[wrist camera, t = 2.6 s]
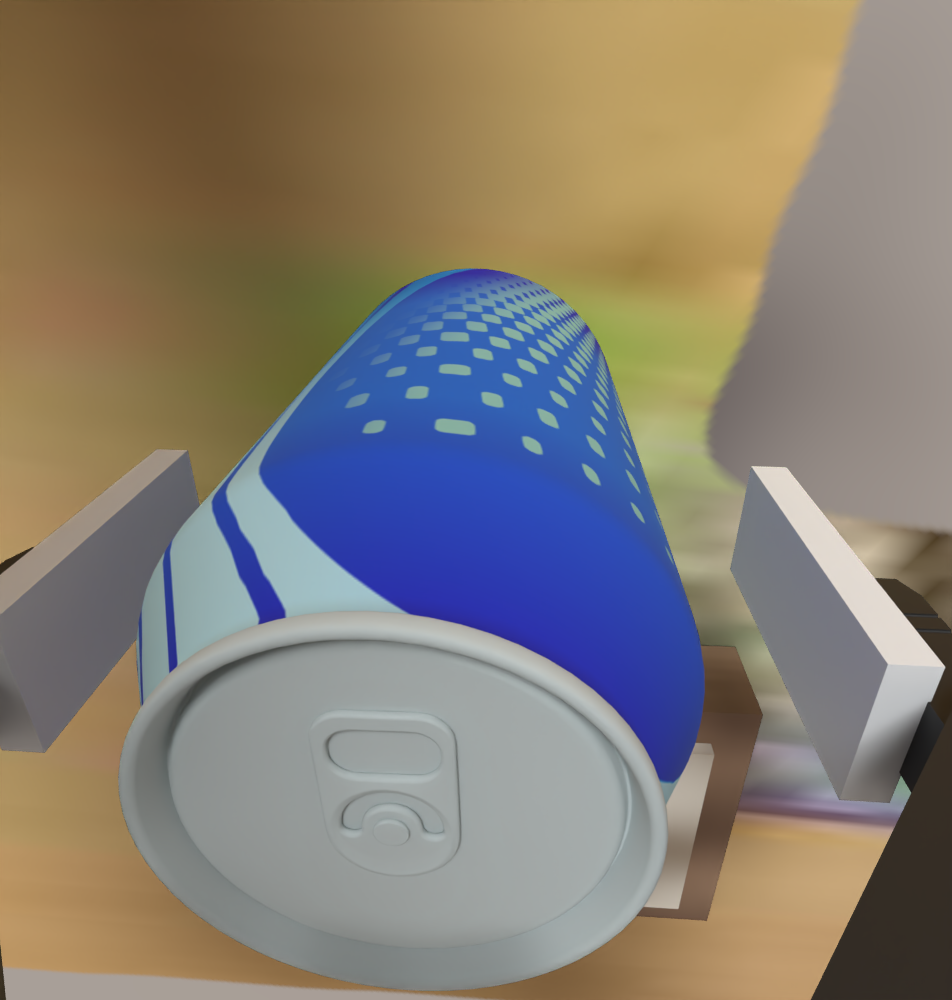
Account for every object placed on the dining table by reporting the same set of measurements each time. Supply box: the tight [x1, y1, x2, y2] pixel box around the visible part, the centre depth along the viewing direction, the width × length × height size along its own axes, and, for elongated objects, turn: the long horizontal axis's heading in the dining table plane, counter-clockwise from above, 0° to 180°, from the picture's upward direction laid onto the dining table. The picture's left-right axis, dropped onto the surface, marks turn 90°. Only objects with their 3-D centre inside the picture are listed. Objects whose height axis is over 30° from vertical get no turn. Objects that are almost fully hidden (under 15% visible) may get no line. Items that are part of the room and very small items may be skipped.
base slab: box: [637, 646, 763, 921], centre depth 28 cm, size 12×12×4 cm
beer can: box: [118, 269, 705, 991], centre depth 15 cm, size 8×8×16 cm
